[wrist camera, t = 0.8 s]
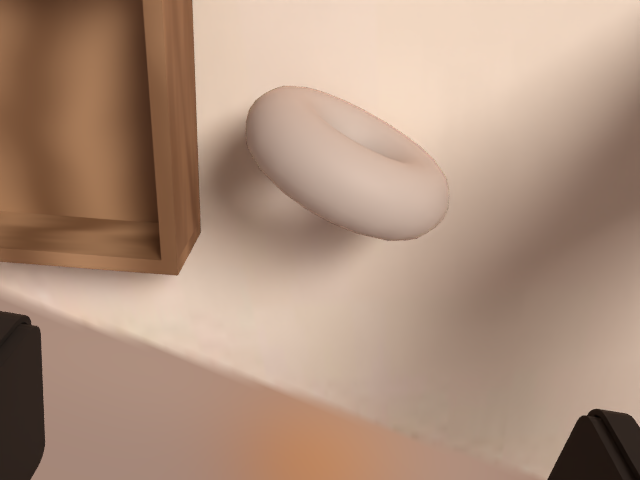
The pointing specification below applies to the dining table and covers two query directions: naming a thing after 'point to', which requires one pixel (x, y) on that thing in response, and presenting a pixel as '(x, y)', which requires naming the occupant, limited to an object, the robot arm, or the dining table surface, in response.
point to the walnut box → (98, 134)
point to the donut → (346, 164)
